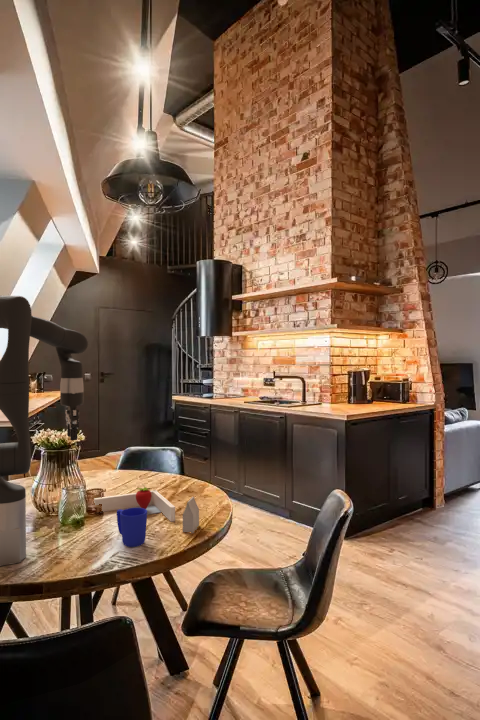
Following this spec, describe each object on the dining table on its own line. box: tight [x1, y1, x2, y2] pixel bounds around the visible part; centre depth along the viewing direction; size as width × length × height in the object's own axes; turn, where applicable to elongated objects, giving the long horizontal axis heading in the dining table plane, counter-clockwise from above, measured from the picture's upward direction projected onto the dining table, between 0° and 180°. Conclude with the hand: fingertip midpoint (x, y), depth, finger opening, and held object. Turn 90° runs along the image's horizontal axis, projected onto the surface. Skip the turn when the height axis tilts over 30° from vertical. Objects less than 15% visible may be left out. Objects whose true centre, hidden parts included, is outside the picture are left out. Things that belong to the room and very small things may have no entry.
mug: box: [116, 507, 148, 548], centre depth 146 cm, size 8×12×10 cm
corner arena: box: [93, 489, 176, 523], centre depth 171 cm, size 24×24×5 cm
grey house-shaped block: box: [182, 496, 200, 534], centre depth 157 cm, size 4×7×10 cm, turn 169°
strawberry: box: [135, 483, 152, 509], centre depth 176 cm, size 6×8×10 cm
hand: (72, 438), depth 161 cm, fingers open, 8 cm apart
